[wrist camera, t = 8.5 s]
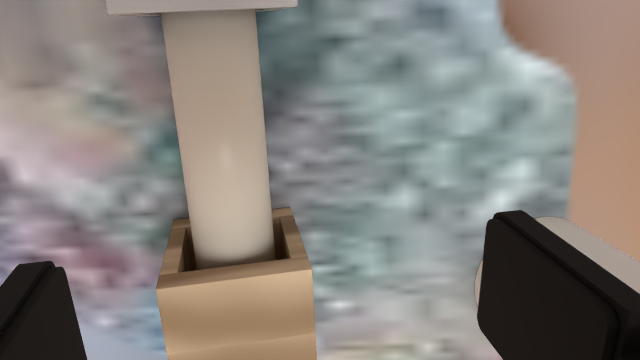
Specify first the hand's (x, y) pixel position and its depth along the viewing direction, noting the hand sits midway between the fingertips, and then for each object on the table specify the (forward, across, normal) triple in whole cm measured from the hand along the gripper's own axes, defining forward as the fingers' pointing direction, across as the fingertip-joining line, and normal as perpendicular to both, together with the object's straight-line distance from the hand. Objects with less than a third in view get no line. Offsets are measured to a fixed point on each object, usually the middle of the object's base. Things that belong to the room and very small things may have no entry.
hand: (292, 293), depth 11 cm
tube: (+17, +2, +1) cm, 17 cm away
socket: (+18, +2, +9) cm, 20 cm away
